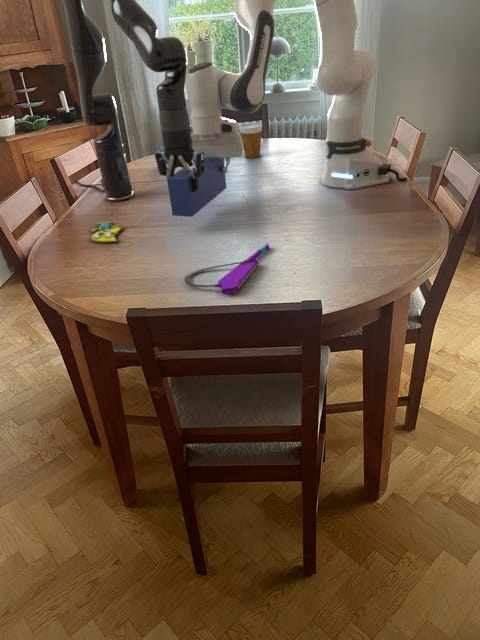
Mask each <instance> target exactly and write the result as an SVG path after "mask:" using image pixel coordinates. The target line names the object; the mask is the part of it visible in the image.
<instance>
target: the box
mask: <svg viewBox="0 0 480 640" xmlns="http://www.w3.org/2000/svg"><path fill="white" fill-rule="evenodd" d="M193 163H194V164H195V168H196V170H197V166H196V161H194V162H193ZM189 166H190V165H189ZM223 166H225V158H204V174H203V175H201V176H200V177H198V181H199V189H198V191H196V192H192V185H191V179H192V178H191V176H190V175H189V173H188V172H187V171H186V170H185V168H181V169H179V170H178V171H175V172H174V174H173V175H172V176H170V177H168V178H167V177H166V183H167V188H168V189H167V190H168V196H169V200H170V201H169V202H170V206H171V207H170V208H171V214H172V216H173V217H190V218H192V217H194V216H195V215H196V214H197V213H199V212H200V211H201V210H202V209H203V208H205V207H206V206H207V205H209V204H210V202H212V201H213V200H214V199H215V198H217V197H218V196H219V195H220V194H221V193H222V192H223V191H225V190H226V189H227V180H226V179H227V177H226V173H223V168H222V167H223Z"/></svg>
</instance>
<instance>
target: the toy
mask: <svg viewBox="0 0 480 640" xmlns="http://www.w3.org/2000/svg"><path fill="white" fill-rule="evenodd" d="M113 224H114V223H113V222H112V221H105V222H103V221H100V222H97V223H96V226H98V228H92V229H91V231H90V232H92V233H93V234H91V236H90V241H91V242H93V243H99V244H100V243H102V244H111V243H118V240H117V237H116V236H117V235H118V234H119V233H120V232H121V231H123V230H124V227H122V226H121V225H118V226H116V225H113Z"/></svg>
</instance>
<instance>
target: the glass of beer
mask: <svg viewBox="0 0 480 640" xmlns="http://www.w3.org/2000/svg"><path fill="white" fill-rule="evenodd" d="M238 131H239V133H240V135H241V138H242V143H243V154H244V157H245V158H248V159H249V158H251V159H252V158H253V159H254V158H258V157H260V156H261V144H262V131H263V126H262V124H261V123H245V124H241V125H240V126H239V130H238Z"/></svg>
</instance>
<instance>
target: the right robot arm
mask: <svg viewBox="0 0 480 640" xmlns="http://www.w3.org/2000/svg"><path fill="white" fill-rule="evenodd" d="M276 2H277V0H234V3H233V13H234V16H235V19H236V20H237V22H238V23H239V25H240V26H241V27H243V28H244V29H245V30H246V31H248V33H249V37H250V38H249V39H250V40H249V46H248V51H247V57H246V61H245V66H244V69H243V70H242V71H241V73H235V72H229V71H227V70H224V69H222V68H220V67H217V66H216V65H215V64H214V62H210V61H206V62H200V63H197V64H194V65H193V66H191V67H190V68H189V69H188V71H187V75H186V83H187V84H186V85H187V86H186V87H187V97H188V102H189V104H190V107H191V108H190V109H191V110H190V122H191V126H190V131H191V139H192V148H193V150H194V152H198V153H200V152H204V158H224V161H225V162H226V164H224V166H223V167H222V168H223V173H225V174H227V173H229V166H230V163H231V159H232V158H241V157H242V156H243V155H244V148H243V143H242V137H241V133H240V131H239V130H238V122H237V121H236V120H234V119H229V118H226V117H222V110H223V109H226V110H229V111H230V110H231V111H237V112H239V113H242V114H246V115H251V114H254V113H255V112H257V111H258V110H259V109H260V108H261V106H262V105H263V102H264V100H265V96H266V78H267V72H268V67H269V61H270V56H271V52H272V46H273V41H274V35H275V19H274V16H273V15H274V9H275V5H276ZM313 3H314V9H315V14H316V20H317V26H318V31H319V38H320V39H319V41H320V52H319V53H320V55H319V56H320V57H319V65H318V68H317V70H316V74H315V82H316V86H317V88H318V89H319V91H320V93H322V94H324V95H326V96H331V97H333V99H332V104H331V105H330V108H329V110H328V113H327V123H326V124H327V126H326V127H327V129H326V130H327V133H326V139H325V145H324V154H325V155H324V156H325V164H324V170H323V175H322V178H321V183H322V185H324V186H327V187H330V188H338V189H339V188H341V189H346V190H356V189H361V188H366V187H371V186H376V185H380V184H385V183H389V182H390V176H389V175H388V174H389V173H391V174H392V173H393V174H394V175H395V179H396V181H399V182H405V181H408V176H407V177H400V173H399V172H398V171H397V170H395V169H392V164H391V163H382V161H381V159H380V158H379V157H377V156H376V155H375V154H373V152H371V151H370V150H368V148H370V147H371V146H373V141H372V140H371V139H368V138H367V139H366V138H364V137H363V136H362V134H363V122H364V121H363V120H364V111H365V105H366V102H367V97H368V93H369V89H370V85H371V82H372V80H373V77H374V75H375V73H376V61H375V58H374V57H373V56H372V54H371V53H370V52H367V51H364V50H360V49H355V42H356V41H355V39H356V31H357V29H358V26H359V25H358V16H357V10H356V5H355V0H313ZM192 161H193V162H194V161H195V158H194V157H193V159H192Z"/></svg>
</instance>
